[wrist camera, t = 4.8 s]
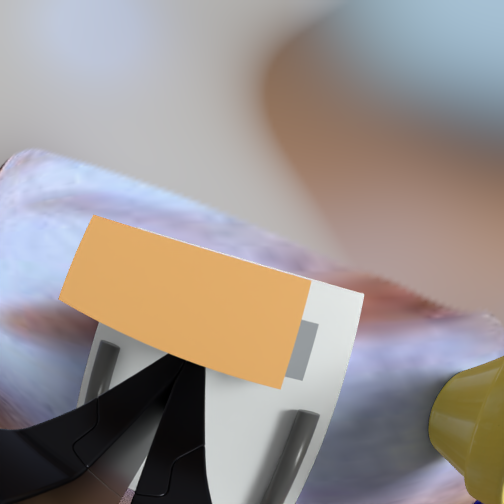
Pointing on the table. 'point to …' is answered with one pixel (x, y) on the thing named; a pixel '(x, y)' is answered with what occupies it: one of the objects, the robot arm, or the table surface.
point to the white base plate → (254, 400)
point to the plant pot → (473, 429)
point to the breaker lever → (188, 300)
